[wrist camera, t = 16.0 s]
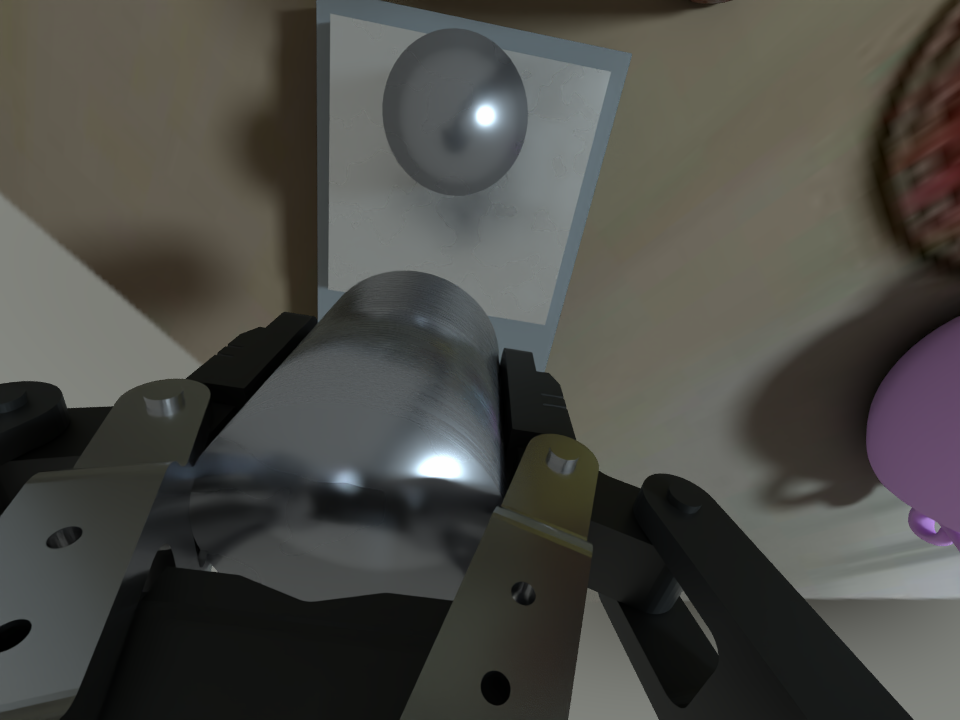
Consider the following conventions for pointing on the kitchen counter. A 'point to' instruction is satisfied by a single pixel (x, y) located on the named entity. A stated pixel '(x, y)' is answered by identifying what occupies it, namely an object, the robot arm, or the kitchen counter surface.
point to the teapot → (922, 434)
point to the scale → (366, 5)
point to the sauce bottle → (709, 1)
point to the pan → (444, 218)
